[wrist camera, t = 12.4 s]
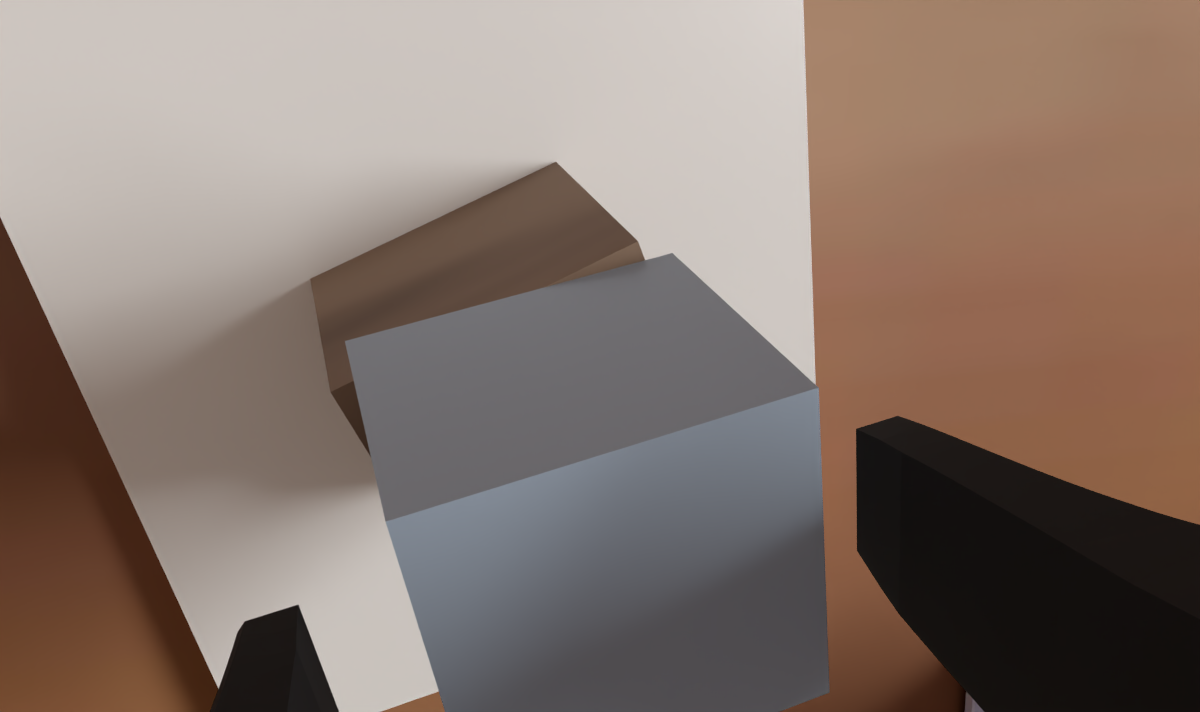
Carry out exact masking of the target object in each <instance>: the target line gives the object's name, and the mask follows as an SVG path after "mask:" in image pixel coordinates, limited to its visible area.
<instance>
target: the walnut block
mask: <svg viewBox="0 0 1200 712" xmlns="http://www.w3.org/2000/svg"><path fill="white" fill-rule="evenodd" d="M644 260H645V259H644V256H643V253H642V250H641V248H640V245H639V242H638V241H637V240H636V239H635V238H634V237H633V236H632V235H631V234H630V233H629V232H628V231H627V230H626V229H625V228H624V227H623V226H622V225H621V224H620V223H619V222H618V221H617V220H616V219H615V218H614V217H613V216H612V215H611V214H610V213H608V212H607V211H606V210H605V209H604V208H603V207H602V206H601V205H600V204H599V203H598V202H597V201H596V200H595V199H594V198H593V197H592V196H591V195H590V194H589V193H588V192H587V191H586V190H585V189H584V188H583V187H582V186H581V185H580V184H579V183H578V182H576V181H575V180H574V179H573V178H572V177H571V176H570V175H569V174H568V173H567V172H566V171H565V170H564V169H563V168H562V167H561V166H560V165H559V164H558V163H557V162H554V163H552V164H550V165H548V166H546V167H544V168H542V169H540V170H538V171H535V172H533V173H531V174H529V175H527V176H525V177H523V178H521V179H519V180H517V181H514V182H512V183H510V184H508V185H506V186H504V187H502V188H500V189H498V190H496V191H493V192H491V193H489V194H487V195H485V196H483V197H481V198H479V199H477V200H475V201H473V202H470V203H468V204H466V205H464V206H462V207H460V208H458V209H456V210H454V211H452V212H449V213H447V214H445V215H443V216H441V217H439V218H437V219H435V220H433V221H431V222H428V223H426V224H424V225H422V226H420V227H418V228H416V229H414V230H412V231H410V232H407V233H405V234H403V235H401V236H399V237H397V238H395V239H393V240H391V241H389V242H386V243H384V244H382V245H380V246H378V247H376V248H374V249H372V250H370V251H368V252H365V253H363V254H361V255H359V256H357V257H355V258H353V259H351V260H349V261H347V262H344V263H342V264H340V265H338V266H336V267H334V268H332V269H330V270H328V271H326V272H324V273H321V274H319V275H317V276H315V277H313V278H311V279H310V281H311V286H312V292H313V297H314V303H315V309H316V314H317V320H318V326H319V331H320V337H321V343H322V348H323V354H324V359H325V365H326V371H327V376H328V382H329V388H330V392H331V394H332V396H333V397H334V399H335V400H336V402H337V404H338V405H339V407H340V408H341V410H342V412H343V413H344V415H345V417H346V418H347V420H348V421H349V423H350V425H351V426H352V428H353V429H354V431H355V433H356V434H357V436H358V437H359V439H360V441H361V442H362V444H363V445H364V447H365V449H366V450H367V452H368V453H369V455H370V451H369V446H368V442H367V437H366V433H365V428H364V424H363V419H362V415H361V411H360V406H359V402H358V397H357V393H356V388H355V384H354V380H353V375H352V371H351V366H350V362H349V357H348V353H347V348H346V344H345V341H347V340H351V339H354V338H358V337H362V336H366V335H369V334H373V333H377V332H380V331H384V330H388V329H392V328H395V327H399V326H403V325H407V324H410V323H414V322H418V321H421V320H425V319H429V318H433V317H436V316H440V315H444V314H447V313H451V312H455V311H459V310H462V309H466V308H470V307H473V306H477V305H481V304H485V303H488V302H492V301H496V300H499V299H503V298H507V297H511V296H514V295H518V294H522V293H525V292H529V291H533V290H537V289H540V288H544V287H548V286H552V285H555V284H559V283H563V282H566V281H570V280H574V279H578V278H581V277H585V276H589V275H592V274H596V273H600V272H604V271H607V270H611V269H615V268H618V267H622V266H626V265H630V264H633V263H637V262H641V261H644ZM370 457H371V455H370Z"/></svg>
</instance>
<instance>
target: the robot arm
mask: <svg viewBox="0 0 1200 712" xmlns="http://www.w3.org/2000/svg"><path fill="white" fill-rule="evenodd" d="M856 461H857V551H858V553H859V554H860V556H861V557H862V559H863V561H864V562H865V564H866V565H867V567H868V568H869V570H870V572H871V573H872V575H873V576H874V578H875V579H876V581H877V582H878V584H879V586H880V587H881V588H882V590H883V591H884V593H885V594H886V596H887V597H888V599H889V600H890V602H891V603H892V604H893V606H894V607H895V609H896V610H897V612H898V613H899V614H900V616H901V617H902V618H903V619H904V620H905V622H906V623H907V624H908V625H909V626H910V628H911V629H912V630H913V631H914V632H915V633H916V634H917V636H918V637H919V638H920V639H921V640H922V641H923V643H924V644H925V645H926V646H927V647H928V648H929V650H930V651H931V652H932V653H933V654H934V655H935V656H936V658H937V659H938V660H939V661H940V662H941V663H942V664H943V666H944V667H945V668H946V669H947V670H948V671H949V672H950V674H951V675H952V676H953V677H954V678H955V679H956V680H957V682H958V683H959V684H960V685H961V686H962V687H963V688H964V689H965V691H966V701H965V712H1200V525H1198V524H1194V523H1191V522H1187V521H1183V520H1180V519H1176V518H1173V517H1170V516H1166V515H1163V514H1160V513H1157V512H1153V511H1150V510H1147V509H1144V508H1141V507H1138V506H1135V505H1132V504H1129V503H1126V502H1123V501H1120V500H1117V499H1114V498H1111V497H1108V496H1105V495H1102V494H1099V493H1096V492H1094V491H1091V490H1088V489H1085V488H1083V487H1080V486H1077V485H1074V484H1072V483H1069V482H1066V481H1064V480H1061V479H1058V478H1056V477H1053V476H1050V475H1048V474H1045V473H1043V472H1040V471H1037V470H1035V469H1032V468H1030V467H1027V466H1025V465H1022V464H1020V463H1017V462H1015V461H1012V460H1010V459H1007V458H1005V457H1002V456H1000V455H997V454H995V453H992V452H990V451H987V450H985V449H982V448H980V447H977V446H975V445H972V444H970V443H968V442H965V441H963V440H960V439H958V438H955V437H953V436H950V435H948V434H945V433H943V432H940V431H938V430H935V429H933V428H930V427H927V426H925V425H922V424H919V423H917V422H914V421H911V420H908V419H905V418H902V417H899V416H896V417H893V418H890V419H886V420H883V421H880V422H877V423H874V424H871V425H867V426H864V427H861V428H858V429H856ZM210 712H339V710H338V708H337V705H336V702H335V700H334V697H333V694H332V692H331V689H330V687H329V684H328V681H327V679H326V676H325V673H324V671H323V668H322V665H321V663H320V660H319V657H318V655H317V652H316V650H315V647H314V644H313V642H312V639H311V636H310V634H309V631H308V628H307V626H306V623H305V621H304V618H303V615H302V613H301V610H300V607H299V605H295V606H292V607H289V608H285V609H282V610H279V611H276V612H273V613H270V614H266V615H263V616H260V617H257V618H254V619H250V620H247V621H245V622H244V623H243V625H242V626H241V628H240V629H239V631H238V632H237V635H236V638H235V642H234V645H233V648H232V651H231V654H230V657H229V660H228V663H227V666H226V669H225V672H224V675H223V678H222V681H221V683H220V686H219V689H218V692H217V694H216V697H215V700H214V702H213V705H212V708H211V710H210Z"/></svg>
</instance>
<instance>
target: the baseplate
mask: <svg viewBox="0 0 1200 712" xmlns="http://www.w3.org/2000/svg"><path fill="white" fill-rule="evenodd" d="M554 162H557V163H558V164H559V165H560V166H561V167H562V168H563V169H564V170H565V171H566V172H567V173H568V174H569V175H570V176H571V177H572V178H573V179H574V180H575V181H576V182H578V183H579V184H580V185H581V186H582V187H583V188H584V189H585V190H586V191H587V192H588V193H589V194H590V195H591V196H592V197H593V198H594V199H595V200H596V201H597V202H598V203H599V204H600V205H601V206H602V207H603V208H604V209H605V210H606V211H607V212H608V213H610V214H611V215H612V216H613V217H614V218H615V219H616V220H617V221H618V222H619V223H620V224H621V225H622V226H623V227H624V228H625V229H626V230H627V231H628V232H629V233H630V234H631V235H632V236H633V237H634V238H635V239H636V240H637V241H638V242H639V245H640V248H641V250H642V253H643V256H644V259H645V260H648V259H652V258H656V257H659V256H663V255H667V254H670V253H673V254H674V255H675V256H676V257H677V258H678V259H679V260H681V261H682V262H683V263H684V264H685V265H686V266H687V267H688V268H689V269H690V270H691V271H692V272H694V273H695V274H696V275H697V276H698V277H699V278H700V279H701V280H702V281H703V282H704V283H706V284H707V285H708V286H709V287H710V288H711V289H712V290H713V291H714V292H715V293H716V294H717V295H719V296H720V297H721V298H722V299H723V300H724V301H725V302H726V303H727V304H728V305H729V306H730V307H732V308H733V309H734V310H735V311H736V312H737V313H738V314H739V315H740V316H741V317H742V318H744V319H745V320H746V321H747V322H748V323H749V324H750V325H751V326H752V327H753V328H754V329H755V330H757V331H758V332H759V333H760V334H761V335H762V336H763V337H764V338H765V339H766V340H767V341H769V342H770V343H771V344H772V345H773V346H774V347H775V348H776V349H777V350H778V351H779V352H780V353H782V354H783V355H784V356H785V357H786V358H787V359H788V360H789V361H790V362H791V363H792V364H793V365H795V366H796V367H797V368H798V369H799V370H800V371H801V372H802V373H803V374H804V375H805V376H807V377H808V378H809V379H810V380H811V381H812V382H813V383H814V384H815V353H814V322H813V291H812V260H811V229H810V198H809V167H808V136H807V104H806V73H805V42H804V11H803V0H0V218H1V220H2V222H3V224H4V226H5V228H6V231H7V233H8V235H9V237H10V239H11V241H12V244H13V246H14V248H15V250H16V252H17V254H18V257H19V259H20V261H21V263H22V265H23V267H24V269H25V272H26V274H27V276H28V278H29V280H30V282H31V285H32V287H33V289H34V291H35V293H36V295H37V298H38V300H39V302H40V304H41V306H42V308H43V311H44V313H45V315H46V317H47V319H48V321H49V324H50V326H51V328H52V330H53V332H54V334H55V337H56V339H57V341H58V343H59V345H60V347H61V349H62V352H63V354H64V356H65V358H66V360H67V362H68V365H69V367H70V369H71V371H72V373H73V375H74V378H75V380H76V382H77V384H78V386H79V388H80V391H81V393H82V395H83V397H84V399H85V401H86V404H87V406H88V408H89V410H90V412H91V414H92V416H93V419H94V421H95V423H96V425H97V427H98V429H99V432H100V434H101V436H102V438H103V440H104V442H105V445H106V447H107V449H108V451H109V453H110V455H111V458H112V460H113V462H114V464H115V466H116V468H117V471H118V473H119V475H120V477H121V479H122V481H123V484H124V486H125V488H126V490H127V492H128V494H129V496H130V499H131V501H132V503H133V505H134V507H135V509H136V512H137V514H138V516H139V518H140V520H141V522H142V525H143V527H144V529H145V531H146V533H147V535H148V538H149V540H150V542H151V544H152V546H153V548H154V551H155V553H156V555H157V557H158V559H159V561H160V563H161V566H162V568H163V570H164V572H165V574H166V576H167V579H168V581H169V583H170V585H171V587H172V589H173V592H174V594H175V596H176V598H177V600H178V602H179V605H180V607H181V609H182V611H183V613H184V615H185V618H186V620H187V622H188V624H189V626H190V628H191V631H192V633H193V635H194V637H195V639H196V641H197V643H198V646H199V648H200V650H201V652H202V654H203V656H204V659H205V661H206V663H207V665H208V667H209V669H210V672H211V674H212V676H213V678H214V680H215V682H216V685H217V687H218V689H219V686H220V683H221V681H222V678H223V675H224V672H225V669H226V666H227V663H228V660H229V657H230V654H231V651H232V648H233V645H234V642H235V638H236V635H237V632H238V631H239V629H240V628H241V626H242V625H243V623H244V622H245V621H247V620H250V619H254V618H257V617H260V616H263V615H266V614H270V613H273V612H276V611H279V610H282V609H285V608H289V607H292V606H295V605H299V607H300V610H301V613H302V615H303V618H304V621H305V623H306V626H307V628H308V631H309V634H310V636H311V639H312V642H313V644H314V647H315V650H316V652H317V655H318V657H319V660H320V663H321V665H322V668H323V671H324V673H325V676H326V679H327V681H328V684H329V687H330V689H331V692H332V694H333V697H334V700H335V702H336V705H337V708H338V710H339V712H381V711H384V710H386V709H389V708H392V707H395V706H398V705H401V704H404V703H407V702H410V701H412V700H415V699H418V698H421V697H424V696H427V695H430V694H433V693H436V692H438V691H439V690H438V687H437V684H436V681H435V677H434V674H433V671H432V668H431V665H430V662H429V658H428V655H427V652H426V649H425V646H424V642H423V639H422V636H421V633H420V630H419V627H418V623H417V620H416V617H415V614H414V611H413V607H412V604H411V601H410V598H409V595H408V592H407V588H406V585H405V582H404V579H403V576H402V572H401V569H400V566H399V563H398V560H397V557H396V553H395V550H394V547H393V544H392V541H391V538H390V534H389V531H388V528H387V525H386V522H385V517H384V513H383V508H382V504H381V499H380V495H379V490H378V486H377V482H376V477H375V473H374V468H373V464H372V459H371V457H370V455H369V453H368V452H367V450H366V449H365V447H364V445H363V444H362V442H361V441H360V439H359V437H358V436H357V434H356V433H355V431H354V429H353V428H352V426H351V425H350V423H349V421H348V420H347V418H346V417H345V415H344V413H343V412H342V410H341V408H340V407H339V405H338V404H337V402H336V400H335V399H334V397H333V396H332V394H331V392H330V388H329V382H328V376H327V371H326V365H325V359H324V354H323V348H322V343H321V337H320V331H319V326H318V320H317V314H316V309H315V303H314V297H313V292H312V286H311V281H310V279H311V278H313V277H315V276H317V275H319V274H321V273H324V272H326V271H328V270H330V269H332V268H334V267H336V266H338V265H340V264H342V263H344V262H347V261H349V260H351V259H353V258H355V257H357V256H359V255H361V254H363V253H365V252H368V251H370V250H372V249H374V248H376V247H378V246H380V245H382V244H384V243H386V242H389V241H391V240H393V239H395V238H397V237H399V236H401V235H403V234H405V233H407V232H410V231H412V230H414V229H416V228H418V227H420V226H422V225H424V224H426V223H428V222H431V221H433V220H435V219H437V218H439V217H441V216H443V215H445V214H447V213H449V212H452V211H454V210H456V209H458V208H460V207H462V206H464V205H466V204H468V203H470V202H473V201H475V200H477V199H479V198H481V197H483V196H485V195H487V194H489V193H491V192H493V191H496V190H498V189H500V188H502V187H504V186H506V185H508V184H510V183H512V182H514V181H517V180H519V179H521V178H523V177H525V176H527V175H529V174H531V173H533V172H535V171H538V170H540V169H542V168H544V167H546V166H548V165H550V164H552V163H554ZM815 385H816V384H815Z"/></svg>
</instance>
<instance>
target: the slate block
mask: <svg viewBox="0 0 1200 712" xmlns="http://www.w3.org/2000/svg"><path fill="white" fill-rule="evenodd" d="M345 344H346V348H347V353H348V357H349V362H350V366H351V371H352V375H353V380H354V384H355V388H356V393H357V397H358V402H359V406H360V411H361V415H362V419H363V424H364V428H365V433H366V437H367V442H368V446H369V451H370V455H371V459H372V464H373V468H374V473H375V477H376V482H377V486H378V490H379V495H380V499H381V504H382V508H383V513H384V517H385V522H386V525H387V528H388V531H389V534H390V538H391V541H392V544H393V547H394V550H395V553H396V557H397V560H398V563H399V566H400V569H401V572H402V576H403V579H404V582H405V585H406V588H407V592H408V595H409V598H410V601H411V604H412V607H413V611H414V614H415V617H416V620H417V623H418V627H419V630H420V633H421V636H422V639H423V642H424V646H425V649H426V652H427V655H428V658H429V662H430V665H431V668H432V671H433V674H434V677H435V681H436V684H437V687H438V690H439V693H440V697H441V700H442V703H443V706H444V709H445V712H780V711H782V710H785V709H788V708H790V707H793V706H795V705H798V704H801V703H803V702H806V701H808V700H811V699H814V698H816V697H819V696H821V695H824V694H827V693H829V666H828V638H827V610H826V582H825V554H824V526H823V498H822V470H821V442H820V414H819V388H818V387H817V386H816V385H815V384H814V383H813V382H812V381H811V380H810V379H809V378H808V377H807V376H805V375H804V374H803V373H802V372H801V371H800V370H799V369H798V368H797V367H796V366H795V365H793V364H792V363H791V362H790V361H789V360H788V359H787V358H786V357H785V356H784V355H783V354H782V353H780V352H779V351H778V350H777V349H776V348H775V347H774V346H773V345H772V344H771V343H770V342H769V341H767V340H766V339H765V338H764V337H763V336H762V335H761V334H760V333H759V332H758V331H757V330H755V329H754V328H753V327H752V326H751V325H750V324H749V323H748V322H747V321H746V320H745V319H744V318H742V317H741V316H740V315H739V314H738V313H737V312H736V311H735V310H734V309H733V308H732V307H730V306H729V305H728V304H727V303H726V302H725V301H724V300H723V299H722V298H721V297H720V296H719V295H717V294H716V293H715V292H714V291H713V290H712V289H711V288H710V287H709V286H708V285H707V284H706V283H704V282H703V281H702V280H701V279H700V278H699V277H698V276H697V275H696V274H695V273H694V272H692V271H691V270H690V269H689V268H688V267H687V266H686V265H685V264H684V263H683V262H682V261H681V260H679V259H678V258H677V257H676V256H675V255H674V254H673V253H670V254H667V255H663V256H659V257H656V258H652V259H648V260H644V261H641V262H637V263H633V264H630V265H626V266H622V267H618V268H615V269H611V270H607V271H604V272H600V273H596V274H592V275H589V276H585V277H581V278H578V279H574V280H570V281H566V282H563V283H559V284H555V285H552V286H548V287H544V288H540V289H537V290H533V291H529V292H525V293H522V294H518V295H514V296H511V297H507V298H503V299H499V300H496V301H492V302H488V303H485V304H481V305H477V306H473V307H470V308H466V309H462V310H459V311H455V312H451V313H447V314H444V315H440V316H436V317H433V318H429V319H425V320H421V321H418V322H414V323H410V324H407V325H403V326H399V327H395V328H392V329H388V330H384V331H380V332H377V333H373V334H369V335H366V336H362V337H358V338H354V339H351V340H347V341H345Z"/></svg>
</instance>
